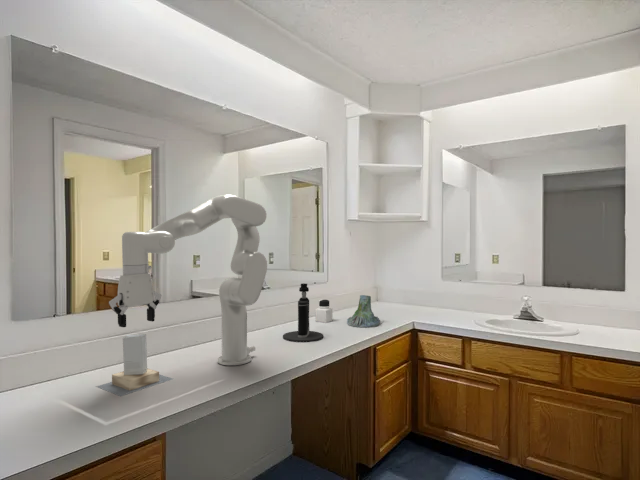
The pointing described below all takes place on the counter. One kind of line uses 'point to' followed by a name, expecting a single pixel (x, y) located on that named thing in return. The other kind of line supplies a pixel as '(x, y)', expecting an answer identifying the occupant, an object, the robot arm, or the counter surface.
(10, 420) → the counter surface
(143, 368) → the skincare box
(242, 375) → the counter surface
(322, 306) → the medicine bottle
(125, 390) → the slate board
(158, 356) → the counter surface
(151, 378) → the birch plinth
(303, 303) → the vape
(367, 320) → the tree stump
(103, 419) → the counter surface
